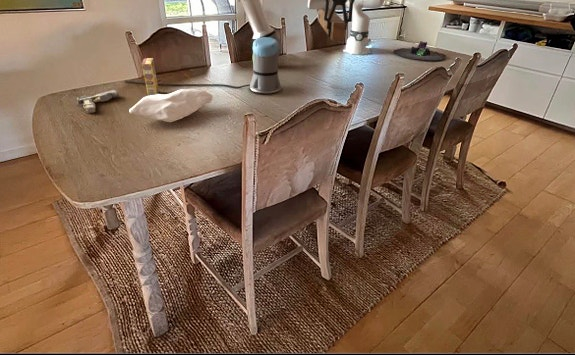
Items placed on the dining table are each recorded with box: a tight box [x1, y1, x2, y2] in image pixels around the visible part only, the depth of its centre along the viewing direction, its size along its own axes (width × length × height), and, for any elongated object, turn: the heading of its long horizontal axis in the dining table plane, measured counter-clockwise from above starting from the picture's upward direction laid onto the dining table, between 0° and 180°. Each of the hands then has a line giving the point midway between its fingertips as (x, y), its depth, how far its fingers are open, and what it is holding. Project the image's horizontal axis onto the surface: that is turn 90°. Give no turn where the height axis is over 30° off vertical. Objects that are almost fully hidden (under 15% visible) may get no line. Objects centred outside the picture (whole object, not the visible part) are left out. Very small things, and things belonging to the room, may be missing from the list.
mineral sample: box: [392, 40, 447, 61], centre depth 247 cm, size 35×35×9 cm
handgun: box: [76, 89, 120, 114], centre depth 155 cm, size 3×18×15 cm
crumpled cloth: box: [129, 88, 214, 123], centre depth 147 cm, size 24×35×9 cm
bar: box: [317, 9, 346, 42], centre depth 189 cm, size 51×6×8 cm, turn 3°
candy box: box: [141, 57, 160, 96], centre depth 163 cm, size 9×4×15 cm, turn 13°
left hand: (335, 36), depth 175 cm, fingers closed on bar, 6 cm apart
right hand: (324, 18), depth 206 cm, fingers closed on bar, 5 cm apart
